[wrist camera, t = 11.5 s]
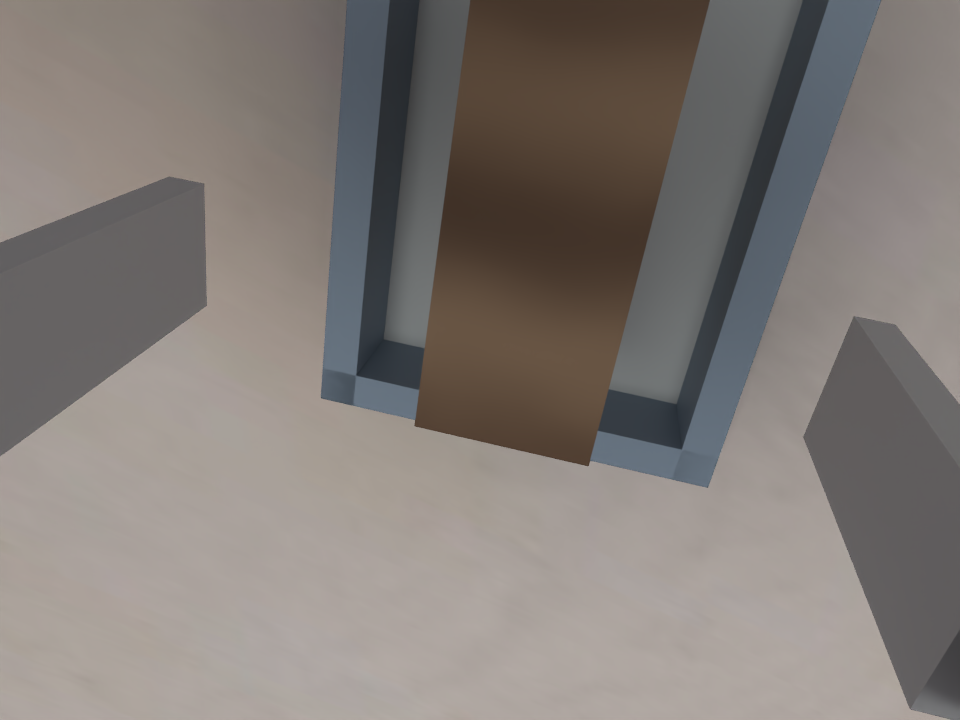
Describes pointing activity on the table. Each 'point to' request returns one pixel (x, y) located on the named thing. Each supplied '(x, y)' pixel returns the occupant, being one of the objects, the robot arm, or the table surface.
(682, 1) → the brown wooden bar
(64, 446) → the table surface
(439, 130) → the peg frame
